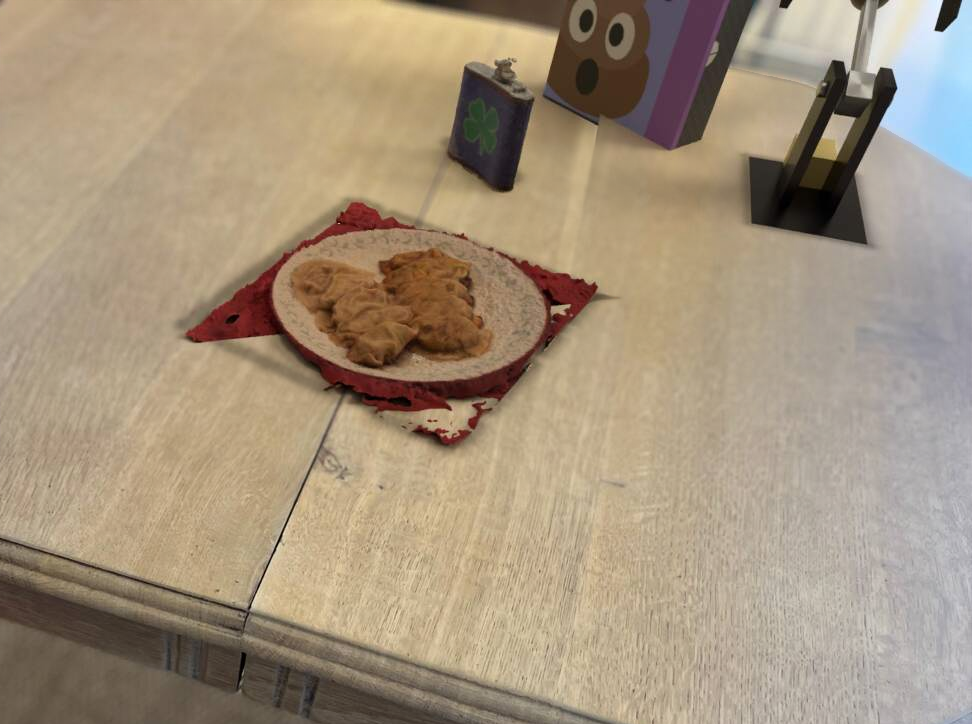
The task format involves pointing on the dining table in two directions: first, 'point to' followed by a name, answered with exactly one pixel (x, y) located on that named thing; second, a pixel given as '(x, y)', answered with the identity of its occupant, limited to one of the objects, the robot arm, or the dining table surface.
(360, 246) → the plate with food
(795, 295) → the dining table surface
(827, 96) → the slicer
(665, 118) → the cereal box
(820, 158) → the butter
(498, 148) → the flask
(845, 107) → the slicer arm
